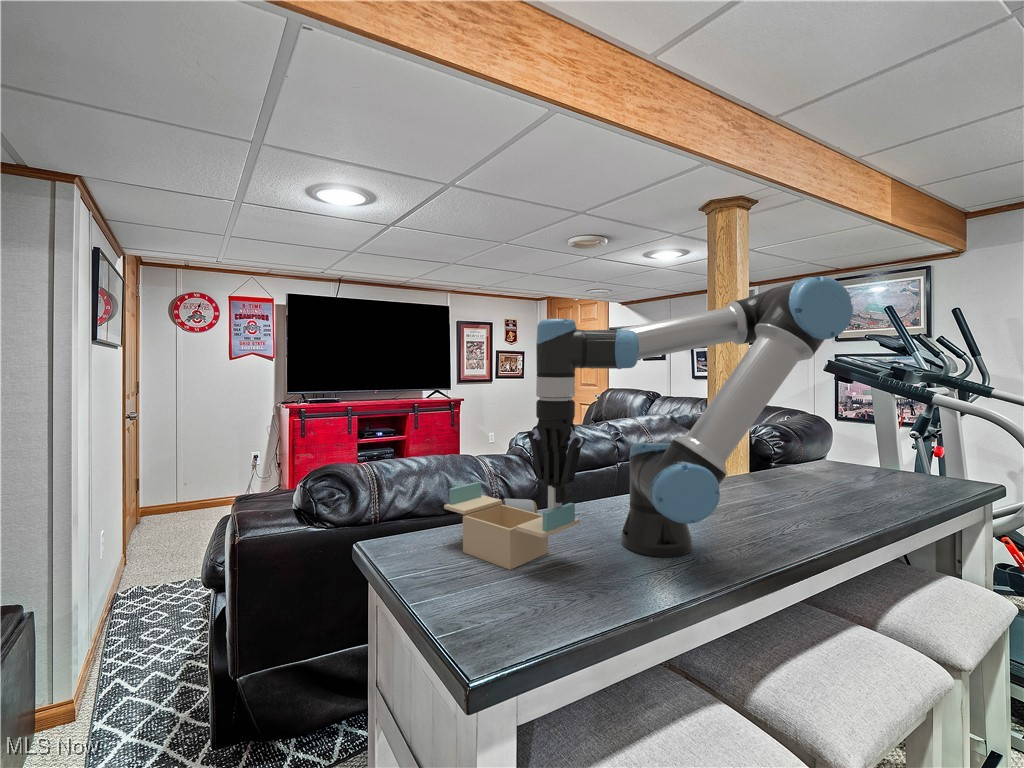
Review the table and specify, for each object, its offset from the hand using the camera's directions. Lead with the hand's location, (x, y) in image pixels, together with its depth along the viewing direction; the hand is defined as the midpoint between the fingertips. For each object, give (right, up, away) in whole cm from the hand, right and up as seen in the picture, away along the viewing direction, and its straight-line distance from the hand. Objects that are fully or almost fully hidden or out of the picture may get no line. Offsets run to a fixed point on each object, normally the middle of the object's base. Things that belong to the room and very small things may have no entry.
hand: (554, 517), depth 99 cm
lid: (-17, -2, +16) cm, 24 cm away
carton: (-10, -10, +9) cm, 17 cm away
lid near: (-1, -2, +1) cm, 3 cm away
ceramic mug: (-7, -10, +26) cm, 29 cm away
